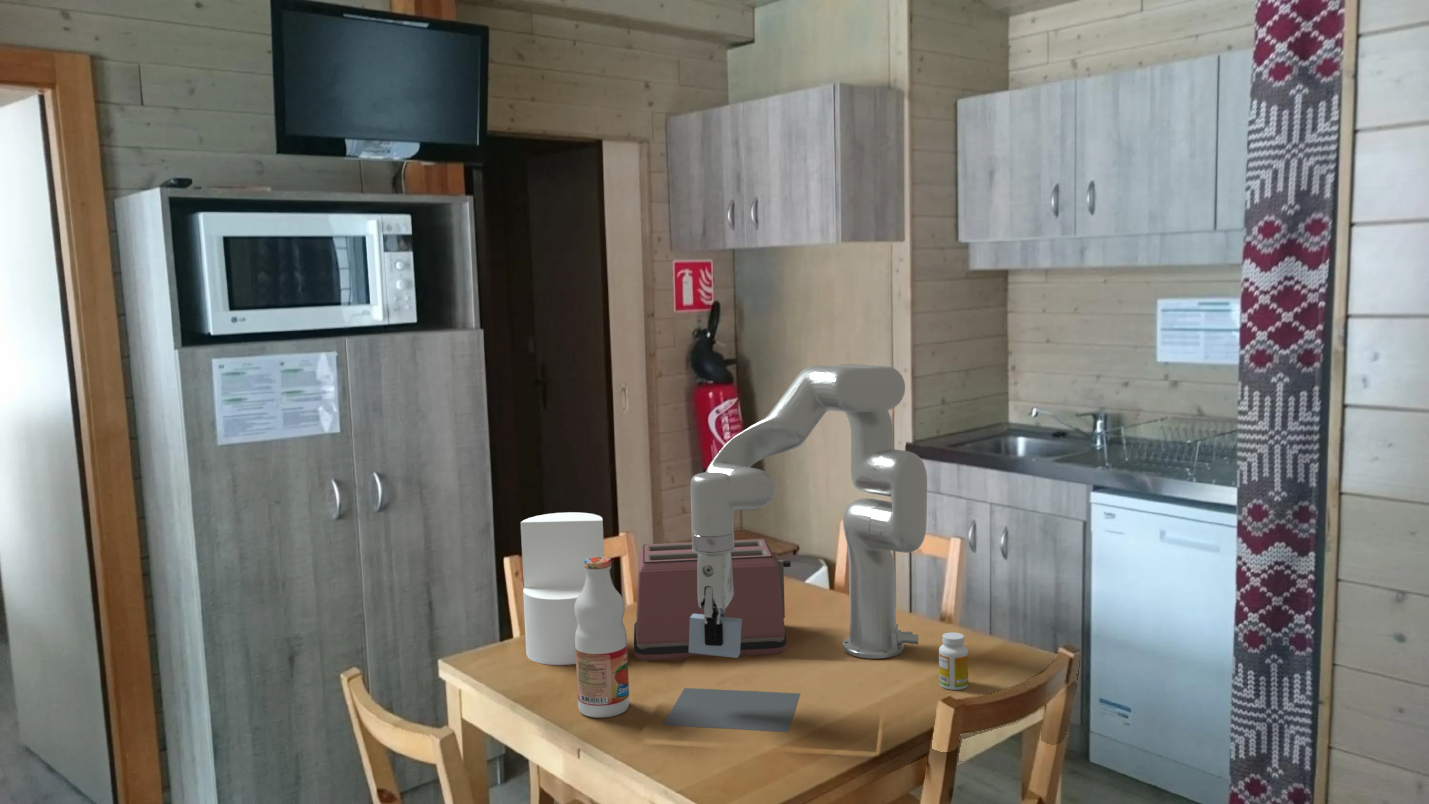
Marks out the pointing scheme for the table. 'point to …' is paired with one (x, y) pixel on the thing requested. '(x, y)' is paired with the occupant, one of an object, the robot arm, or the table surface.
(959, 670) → the supplement bottle
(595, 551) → the cylinder
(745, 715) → the mat
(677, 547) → the toaster
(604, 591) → the fruit juice
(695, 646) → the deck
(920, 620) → the table surface
